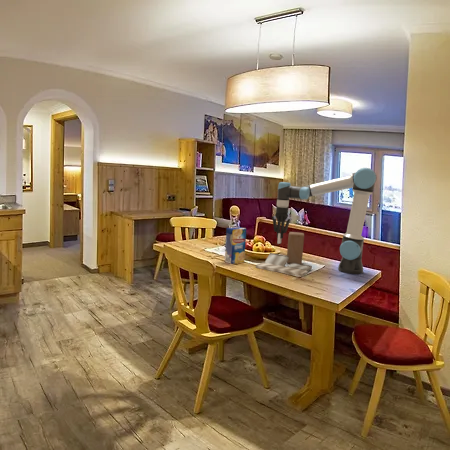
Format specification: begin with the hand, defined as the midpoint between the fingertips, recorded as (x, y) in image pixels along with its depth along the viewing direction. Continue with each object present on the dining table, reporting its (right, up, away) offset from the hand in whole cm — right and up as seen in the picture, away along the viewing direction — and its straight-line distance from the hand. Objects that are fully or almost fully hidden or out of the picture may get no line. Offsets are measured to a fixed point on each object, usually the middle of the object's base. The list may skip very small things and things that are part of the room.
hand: (279, 243), depth 256 cm
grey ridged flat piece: (-1, -11, 0) cm, 12 cm away
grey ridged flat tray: (0, -16, -12) cm, 20 cm away
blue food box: (-29, -12, +4) cm, 31 cm away
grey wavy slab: (+12, -16, -6) cm, 21 cm away
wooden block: (+11, -14, +12) cm, 21 cm away
